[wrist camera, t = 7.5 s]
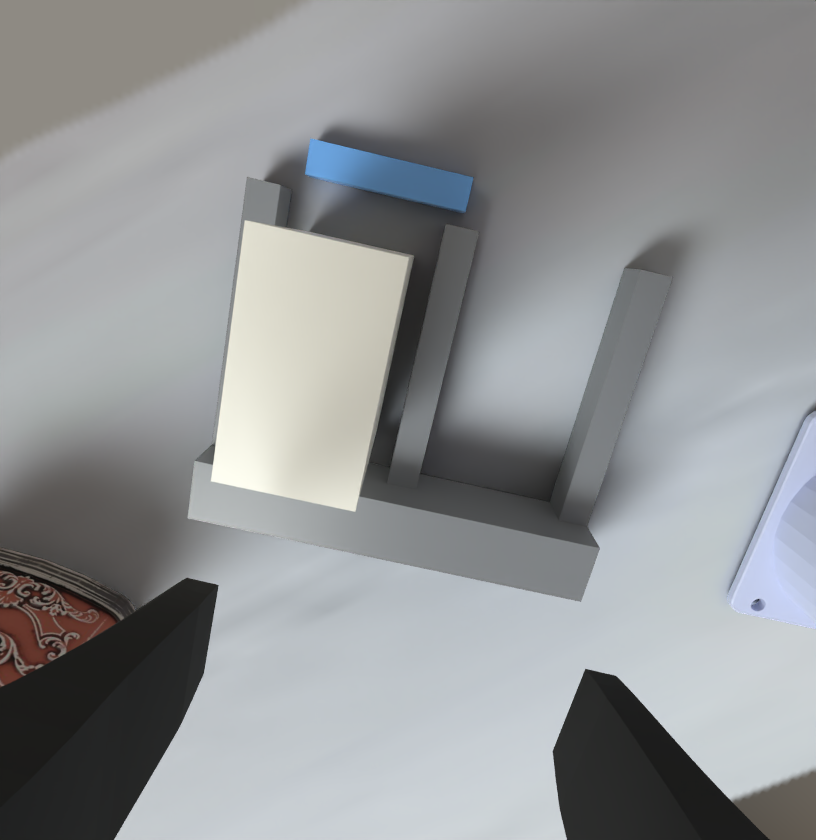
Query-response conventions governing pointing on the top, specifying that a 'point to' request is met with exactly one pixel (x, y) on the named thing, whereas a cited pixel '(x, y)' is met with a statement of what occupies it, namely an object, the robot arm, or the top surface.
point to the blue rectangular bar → (388, 176)
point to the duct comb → (444, 499)
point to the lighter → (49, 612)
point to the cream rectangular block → (307, 363)
